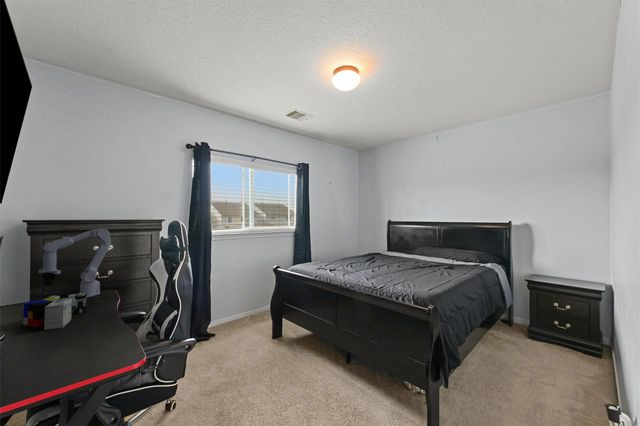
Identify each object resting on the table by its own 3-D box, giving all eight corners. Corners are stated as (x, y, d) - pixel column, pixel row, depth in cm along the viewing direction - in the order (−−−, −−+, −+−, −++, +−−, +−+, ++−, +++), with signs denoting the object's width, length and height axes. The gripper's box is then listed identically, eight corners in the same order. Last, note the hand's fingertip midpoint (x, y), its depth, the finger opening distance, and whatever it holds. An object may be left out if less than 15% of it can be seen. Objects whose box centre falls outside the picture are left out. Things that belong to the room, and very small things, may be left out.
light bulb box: (53, 322, 130) (54, 299, 130) (71, 320, 133) (72, 298, 133) (43, 330, 121) (44, 306, 121) (63, 327, 124) (64, 304, 124)
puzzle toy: (23, 324, 127) (23, 303, 127) (49, 317, 136) (50, 297, 137) (36, 327, 124) (37, 305, 124) (63, 319, 134) (63, 299, 134)
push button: (71, 315, 139) (71, 295, 139) (69, 313, 142) (69, 294, 143) (87, 312, 144) (88, 293, 145) (85, 309, 148) (86, 291, 148)
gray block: (54, 302, 156) (54, 295, 156) (59, 302, 155) (59, 295, 156) (48, 303, 154) (49, 296, 154) (54, 304, 153) (54, 297, 153)
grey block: (73, 300, 160) (73, 294, 160) (78, 301, 159) (78, 294, 159) (68, 301, 157) (68, 295, 157) (73, 302, 156) (73, 295, 156)
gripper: (32, 263, 159) (31, 286, 158) (50, 264, 155) (50, 287, 155) (46, 261, 165) (46, 283, 165) (64, 262, 162) (64, 285, 162)
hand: (49, 285), depth 160 cm, fingers closed
